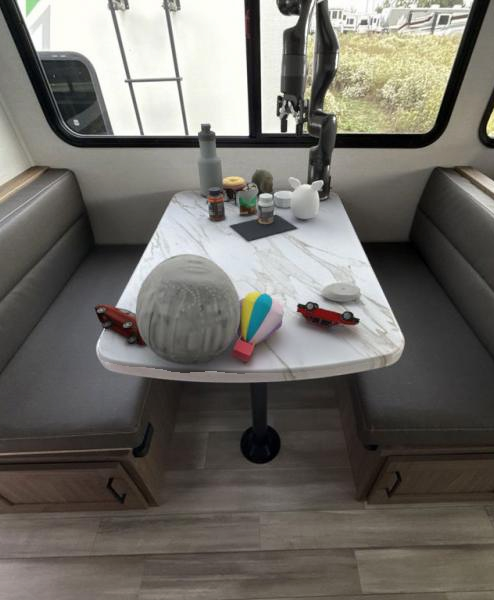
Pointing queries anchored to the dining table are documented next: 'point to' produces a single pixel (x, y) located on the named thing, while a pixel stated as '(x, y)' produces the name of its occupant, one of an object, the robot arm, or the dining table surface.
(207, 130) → the water bottle
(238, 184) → the doughnut
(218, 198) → the supplement bottle
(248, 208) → the food container
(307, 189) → the piggy bank
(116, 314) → the toy car
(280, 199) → the ramekin
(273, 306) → the hot air balloon
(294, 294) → the dining table surface
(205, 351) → the sculpture
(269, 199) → the pill bottle
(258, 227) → the placemat
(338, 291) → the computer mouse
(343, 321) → the toy car
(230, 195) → the sunglasses
